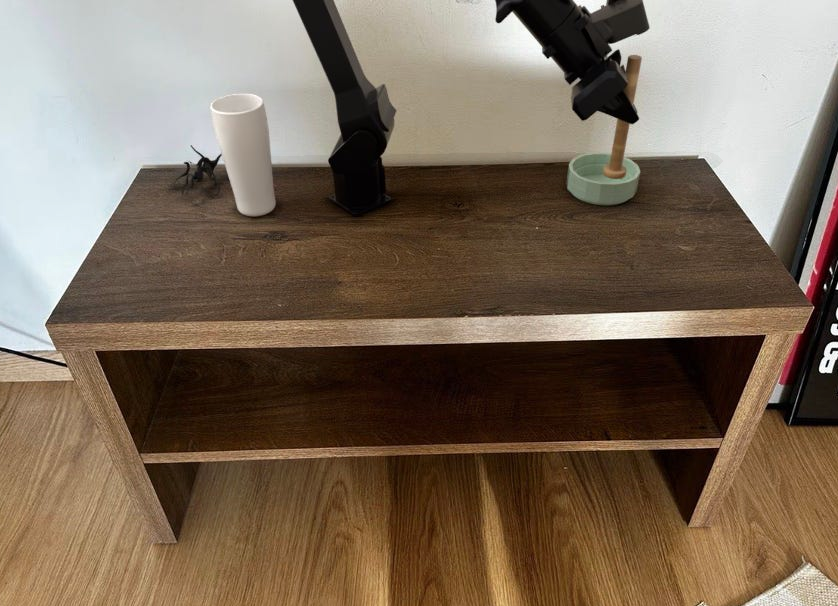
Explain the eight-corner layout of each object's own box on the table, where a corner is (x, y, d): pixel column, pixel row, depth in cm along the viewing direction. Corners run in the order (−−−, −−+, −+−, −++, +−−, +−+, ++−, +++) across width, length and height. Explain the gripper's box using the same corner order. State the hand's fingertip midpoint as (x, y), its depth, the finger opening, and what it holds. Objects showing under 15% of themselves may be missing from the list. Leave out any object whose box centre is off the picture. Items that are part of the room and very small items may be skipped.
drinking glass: (271, 223, 95) (251, 115, 85) (224, 218, 96) (199, 111, 86) (288, 199, 100) (272, 94, 90) (244, 194, 101) (223, 91, 91)
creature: (211, 209, 100) (240, 174, 104) (198, 179, 96) (228, 144, 100) (166, 199, 102) (196, 166, 107) (151, 170, 98) (183, 136, 102)
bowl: (606, 214, 96) (610, 191, 94) (552, 188, 102) (555, 166, 99) (649, 191, 101) (654, 169, 99) (595, 168, 107) (598, 146, 104)
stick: (623, 180, 91) (646, 62, 81) (600, 177, 92) (620, 59, 82) (627, 170, 93) (649, 54, 83) (604, 167, 94) (624, 51, 84)
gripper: (621, -10, 70) (707, 104, 76) (607, -51, 84) (680, 48, 90) (535, 68, 76) (621, 167, 82) (535, 17, 90) (608, 106, 96)
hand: (635, 118), depth 87 cm, fingers closed on stick
